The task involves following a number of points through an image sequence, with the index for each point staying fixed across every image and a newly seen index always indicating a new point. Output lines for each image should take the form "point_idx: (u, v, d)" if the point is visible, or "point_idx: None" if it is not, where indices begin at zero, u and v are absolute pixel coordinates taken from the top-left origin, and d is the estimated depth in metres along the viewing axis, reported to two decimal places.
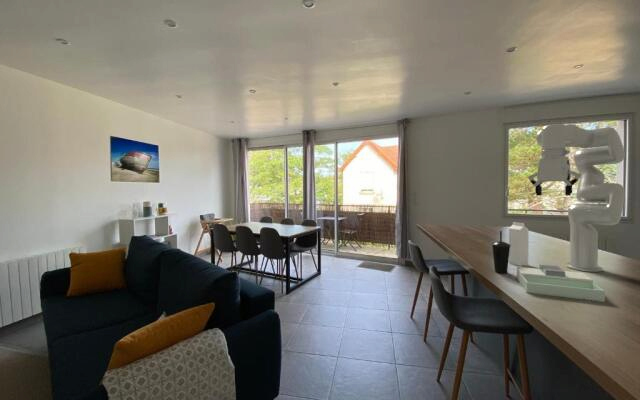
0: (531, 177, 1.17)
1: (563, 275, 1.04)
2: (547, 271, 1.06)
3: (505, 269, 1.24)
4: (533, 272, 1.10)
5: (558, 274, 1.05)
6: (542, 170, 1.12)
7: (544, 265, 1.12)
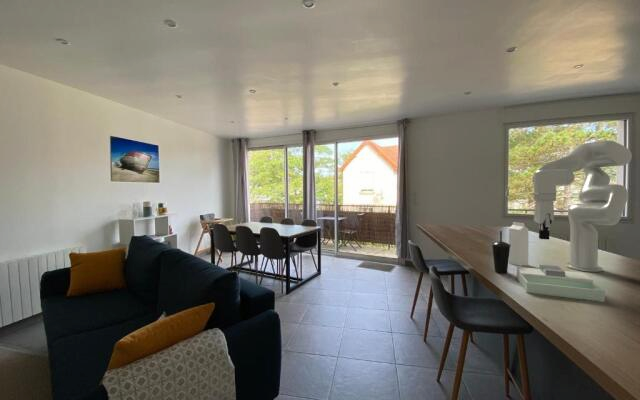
0: None
1: (563, 275, 1.04)
2: (547, 271, 1.06)
3: (505, 269, 1.24)
4: (533, 272, 1.10)
5: (558, 274, 1.05)
6: None
7: (544, 265, 1.12)
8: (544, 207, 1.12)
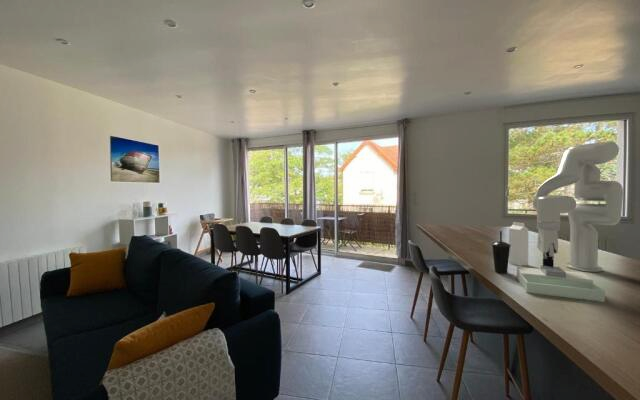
0: None
1: (564, 276, 1.03)
2: (548, 272, 1.05)
3: (505, 269, 1.24)
4: (533, 272, 1.10)
5: (559, 275, 1.04)
6: None
7: (545, 266, 1.11)
8: (548, 237, 1.09)
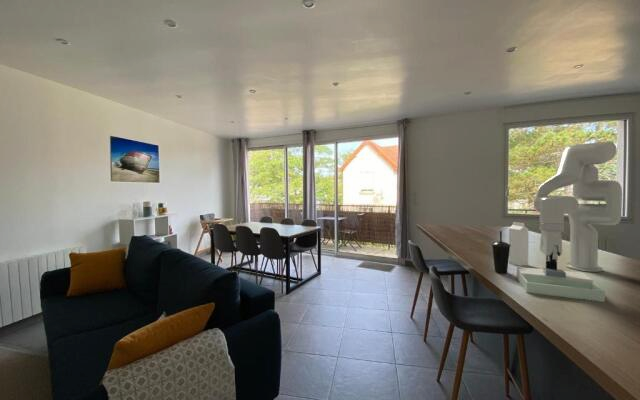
0: None
1: None
2: None
3: (505, 269, 1.24)
4: (533, 272, 1.10)
5: None
6: None
7: (548, 269, 1.08)
8: (551, 239, 1.05)
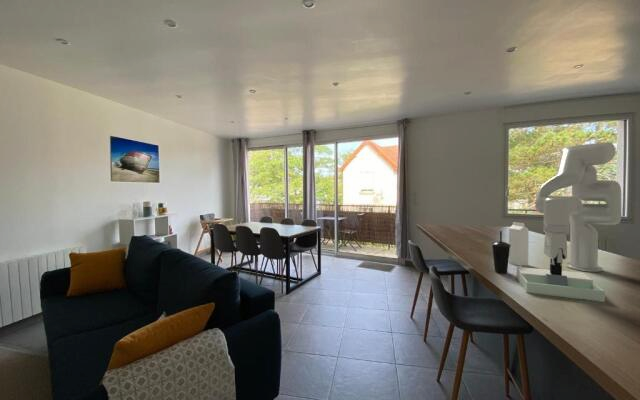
0: None
1: None
2: None
3: (505, 269, 1.24)
4: (533, 272, 1.10)
5: None
6: None
7: (551, 276, 1.03)
8: (556, 241, 1.00)
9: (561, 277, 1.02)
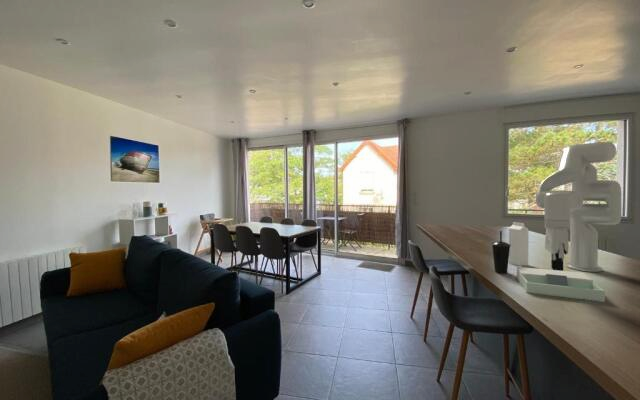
0: None
1: None
2: None
3: (505, 269, 1.24)
4: (533, 272, 1.10)
5: None
6: None
7: (551, 276, 1.03)
8: (557, 236, 0.99)
9: (561, 277, 1.02)
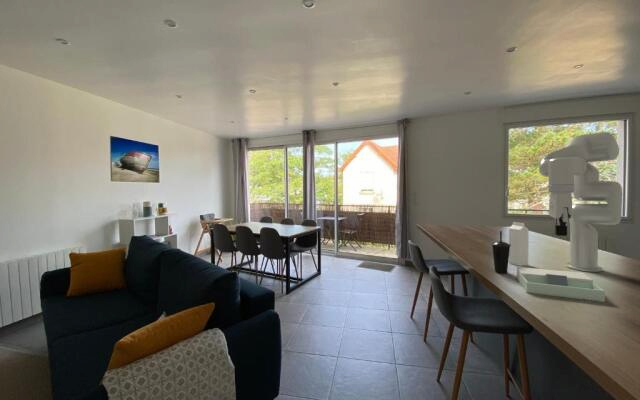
0: None
1: None
2: None
3: (505, 269, 1.24)
4: (533, 272, 1.10)
5: None
6: None
7: (551, 276, 1.03)
8: (561, 200, 1.00)
9: (561, 277, 1.02)
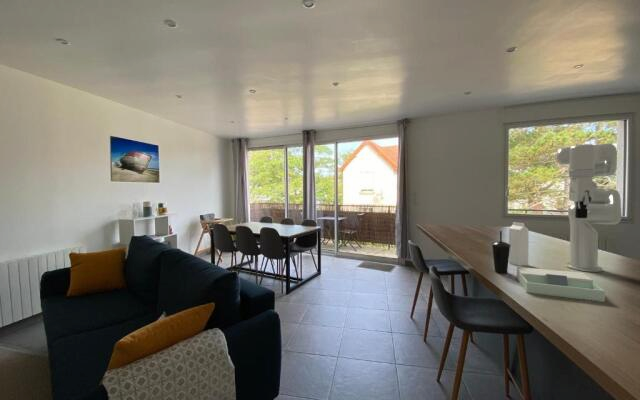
0: None
1: None
2: None
3: (505, 269, 1.24)
4: (533, 272, 1.10)
5: None
6: None
7: (551, 276, 1.03)
8: (582, 184, 1.07)
9: (561, 277, 1.02)
